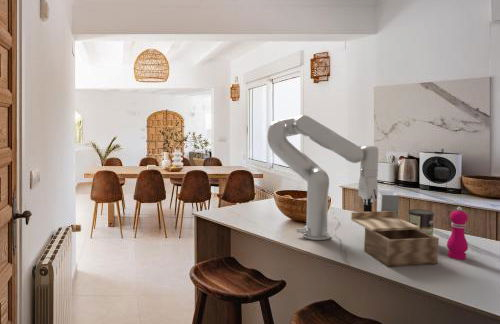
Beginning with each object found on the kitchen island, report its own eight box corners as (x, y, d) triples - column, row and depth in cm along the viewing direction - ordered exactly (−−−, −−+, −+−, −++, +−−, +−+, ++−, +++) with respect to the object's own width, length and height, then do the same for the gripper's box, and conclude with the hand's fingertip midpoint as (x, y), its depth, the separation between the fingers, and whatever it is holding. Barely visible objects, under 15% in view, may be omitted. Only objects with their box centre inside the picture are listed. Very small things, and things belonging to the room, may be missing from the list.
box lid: (372, 231, 147) (372, 222, 147) (351, 220, 165) (351, 212, 165) (419, 229, 151) (419, 220, 150) (393, 218, 169) (394, 210, 168)
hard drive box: (397, 238, 172) (399, 195, 171) (379, 237, 174) (381, 195, 172) (391, 230, 187) (393, 190, 186) (375, 229, 189) (377, 189, 187)
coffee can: (434, 241, 168) (435, 210, 167) (431, 248, 159) (432, 215, 158) (409, 238, 173) (410, 208, 172) (405, 243, 165) (406, 212, 163)
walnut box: (387, 267, 136) (389, 240, 135) (364, 251, 154) (365, 227, 153) (437, 264, 140) (438, 238, 139) (408, 248, 158) (409, 225, 157)
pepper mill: (442, 254, 151) (445, 205, 150) (459, 253, 152) (462, 204, 150) (453, 260, 144) (456, 208, 142) (471, 259, 145) (474, 208, 143)
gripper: (353, 171, 177) (352, 210, 178) (369, 175, 162) (367, 217, 164) (368, 171, 178) (367, 209, 180) (385, 175, 164) (383, 216, 165)
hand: (367, 213), depth 172 cm, fingers closed
